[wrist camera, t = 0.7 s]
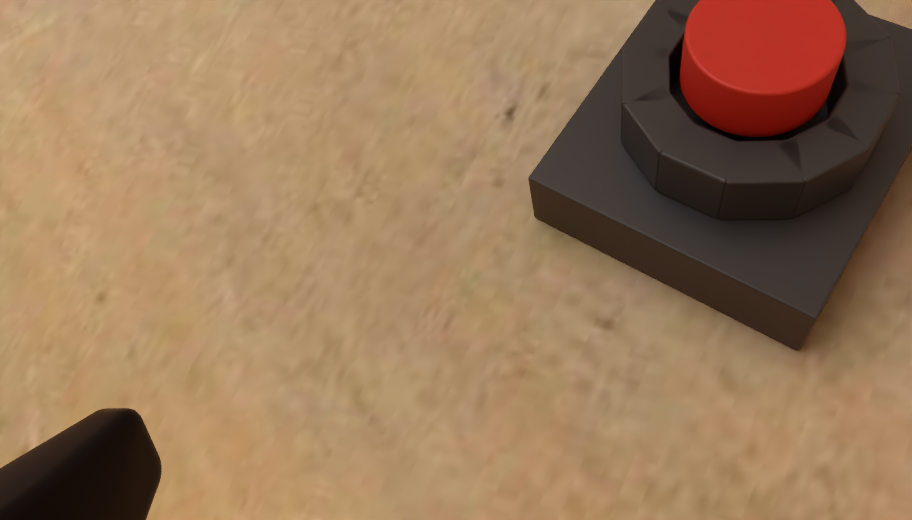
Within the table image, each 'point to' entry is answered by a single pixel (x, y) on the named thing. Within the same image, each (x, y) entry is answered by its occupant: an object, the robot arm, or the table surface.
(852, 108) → the button base
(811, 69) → the power button
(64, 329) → the table surface
